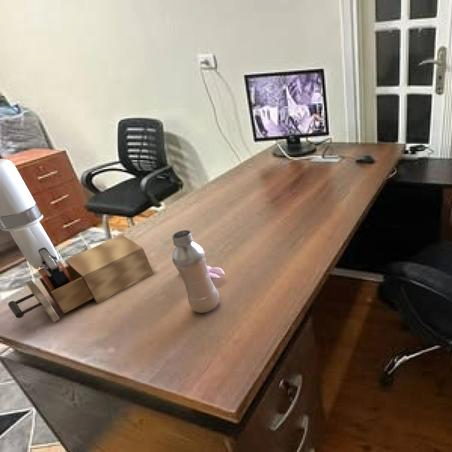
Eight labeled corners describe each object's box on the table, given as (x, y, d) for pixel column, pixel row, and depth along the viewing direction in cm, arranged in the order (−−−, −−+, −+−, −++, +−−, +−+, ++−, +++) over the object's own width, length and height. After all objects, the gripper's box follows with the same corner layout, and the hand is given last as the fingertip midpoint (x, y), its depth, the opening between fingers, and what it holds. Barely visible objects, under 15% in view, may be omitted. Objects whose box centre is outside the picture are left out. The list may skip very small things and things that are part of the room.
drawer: (28, 335, 78) (12, 312, 75) (15, 315, 84) (0, 293, 81) (113, 289, 90) (103, 268, 87) (96, 275, 97) (85, 255, 93)
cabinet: (97, 303, 87) (82, 276, 83) (79, 286, 94) (64, 260, 90) (153, 273, 97) (142, 247, 93) (133, 259, 104) (122, 234, 100)
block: (52, 291, 82) (42, 276, 80) (46, 284, 85) (37, 270, 83) (72, 281, 85) (64, 266, 83) (66, 275, 88) (58, 261, 86)
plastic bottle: (223, 309, 81) (200, 236, 71) (193, 320, 79) (165, 246, 69) (218, 294, 86) (196, 223, 76) (190, 304, 84) (163, 232, 74)
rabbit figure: (177, 283, 94) (215, 289, 86) (167, 264, 91) (206, 269, 84) (194, 270, 99) (232, 274, 91) (186, 252, 96) (224, 255, 88)
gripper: (-11, 215, 78) (31, 279, 87) (7, 234, 69) (52, 304, 78) (29, 202, 83) (64, 264, 92) (51, 218, 74) (89, 286, 83)
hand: (58, 282), depth 85 cm, fingers closed on block, 4 cm apart
